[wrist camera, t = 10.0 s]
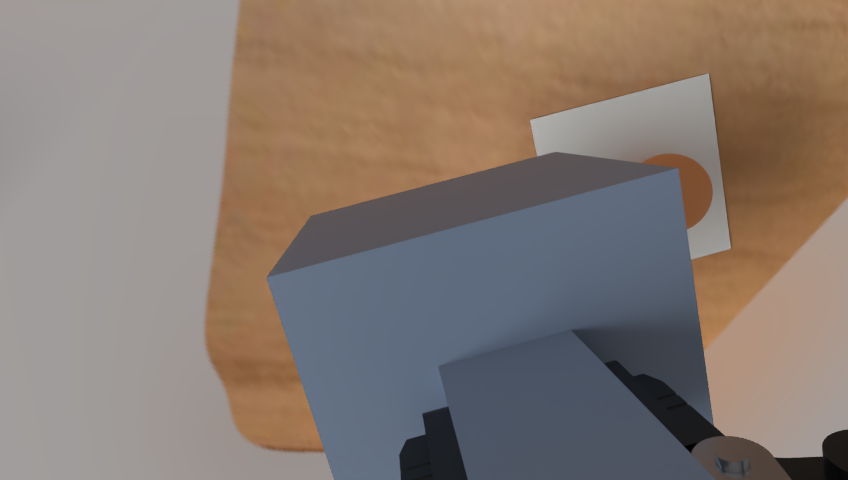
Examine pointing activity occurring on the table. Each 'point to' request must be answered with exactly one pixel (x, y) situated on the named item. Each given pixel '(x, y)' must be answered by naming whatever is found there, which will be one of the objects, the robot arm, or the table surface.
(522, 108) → the table surface
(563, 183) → the cover
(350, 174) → the table surface
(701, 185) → the ball
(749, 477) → the robot arm
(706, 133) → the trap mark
